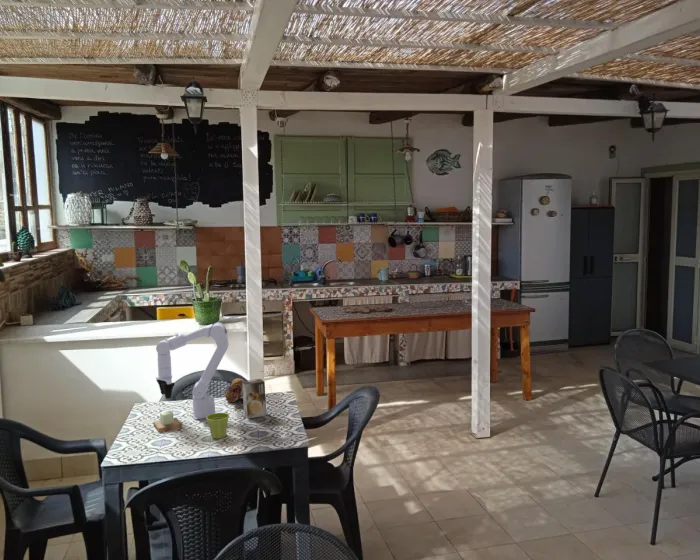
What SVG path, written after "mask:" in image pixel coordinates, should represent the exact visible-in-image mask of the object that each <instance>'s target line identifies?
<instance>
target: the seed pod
mask: <svg viewBox="0 0 700 560" xmlns="http://www.w3.org/2000/svg"><path fill="white" fill-rule="evenodd" d="M242 381H245V380H244V379H243V378H238V377H237V378H235V379H233V380H232V381H231V384H230V386H227V387H226V388H225V391H224V392H221V395H223V394H225V395H224V397H225V399H226V401H227V402H228V403H235V402H237V401H238V400H239V398H241V399H243V386H242Z"/></svg>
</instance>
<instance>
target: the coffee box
mask: <svg viewBox="0 0 700 560" xmlns="http://www.w3.org/2000/svg"><path fill="white" fill-rule="evenodd" d="M265 383H266V381H264V380H263V379H262V378H259V379H258V378H255V379H249V380H244V381H242V386H243V398H242V401H243V416H244V417H246V418H247V419H252V418H258V417H265V416H267V402H266V386H265Z"/></svg>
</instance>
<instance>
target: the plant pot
mask: <svg viewBox="0 0 700 560" xmlns="http://www.w3.org/2000/svg"><path fill="white" fill-rule="evenodd" d="M229 418H230V414H229V413H226V412H215V413H214V414H210V415H208V416H207V417H206V418H205V419H206V420H207V422H208V425H209V426H208V427H209V431H210V436H211V438H212V439H223V438H225V437H227V431H228V421H229Z"/></svg>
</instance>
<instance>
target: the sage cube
mask: <svg viewBox="0 0 700 560" xmlns="http://www.w3.org/2000/svg"><path fill="white" fill-rule="evenodd" d="M159 418H160V420H159V421H161V423H162V424H163V425H167V424H172V423H174V420H173V418H174V413H173V412H172V411H171V410H166V411H162V412H159Z"/></svg>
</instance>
